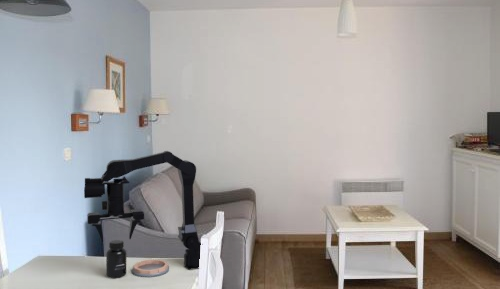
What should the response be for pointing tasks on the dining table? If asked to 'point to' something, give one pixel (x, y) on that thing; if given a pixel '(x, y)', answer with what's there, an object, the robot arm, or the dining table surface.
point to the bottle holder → (150, 268)
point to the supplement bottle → (116, 259)
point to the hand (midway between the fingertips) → (116, 240)
